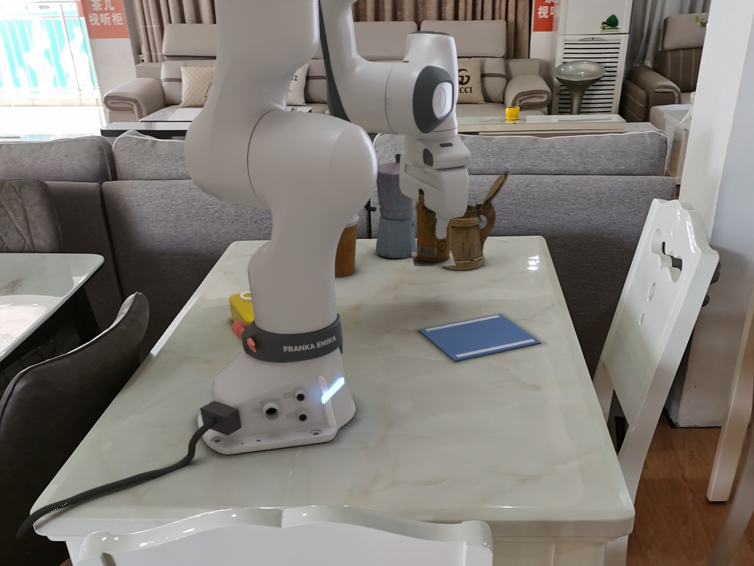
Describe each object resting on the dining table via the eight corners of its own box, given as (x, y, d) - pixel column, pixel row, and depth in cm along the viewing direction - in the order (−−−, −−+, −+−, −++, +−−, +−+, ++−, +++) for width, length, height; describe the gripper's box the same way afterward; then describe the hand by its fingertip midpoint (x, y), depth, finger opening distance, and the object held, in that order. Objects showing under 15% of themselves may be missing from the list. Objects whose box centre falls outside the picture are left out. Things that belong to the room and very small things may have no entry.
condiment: (451, 251, 143) (452, 181, 136) (455, 266, 136) (457, 193, 129) (411, 253, 143) (410, 183, 135) (414, 268, 136) (413, 195, 129)
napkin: (455, 361, 125) (455, 359, 125) (419, 331, 136) (419, 329, 135) (540, 343, 130) (540, 341, 130) (499, 315, 140) (500, 313, 140)
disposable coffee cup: (321, 264, 166) (316, 205, 159) (365, 265, 165) (362, 205, 158) (311, 279, 159) (306, 218, 151) (357, 280, 157) (354, 218, 150)
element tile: (251, 347, 132) (247, 320, 129) (229, 318, 143) (225, 292, 140) (334, 331, 137) (332, 304, 134) (307, 303, 148) (304, 278, 145)
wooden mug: (506, 269, 160) (512, 175, 149) (441, 271, 161) (441, 177, 150) (502, 256, 167) (507, 165, 156) (440, 257, 168) (440, 167, 157)
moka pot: (429, 259, 167) (429, 158, 155) (358, 261, 167) (352, 160, 155) (429, 246, 174) (429, 148, 162) (360, 247, 175) (355, 150, 163)
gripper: (389, 137, 136) (392, 220, 144) (439, 159, 120) (439, 250, 129) (422, 134, 137) (423, 215, 146) (476, 155, 122) (473, 245, 131)
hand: (431, 232), depth 137 cm, fingers closed on condiment, 6 cm apart
